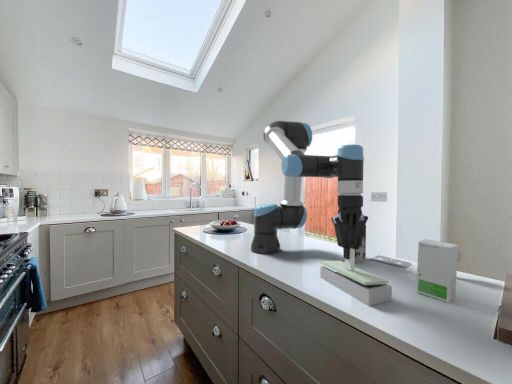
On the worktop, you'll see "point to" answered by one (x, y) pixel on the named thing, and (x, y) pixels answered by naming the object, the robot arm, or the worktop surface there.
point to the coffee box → (361, 250)
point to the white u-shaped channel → (358, 287)
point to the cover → (355, 273)
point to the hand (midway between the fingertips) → (349, 268)
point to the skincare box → (437, 269)
